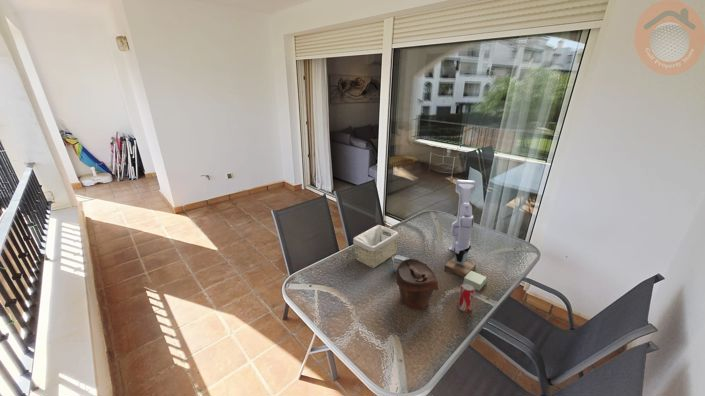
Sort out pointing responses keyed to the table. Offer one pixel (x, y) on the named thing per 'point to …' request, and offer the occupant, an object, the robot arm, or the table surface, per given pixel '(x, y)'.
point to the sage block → (475, 280)
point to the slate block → (462, 258)
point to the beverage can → (466, 297)
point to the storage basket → (375, 245)
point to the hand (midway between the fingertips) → (461, 259)
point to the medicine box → (398, 261)
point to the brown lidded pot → (415, 283)
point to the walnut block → (460, 267)
